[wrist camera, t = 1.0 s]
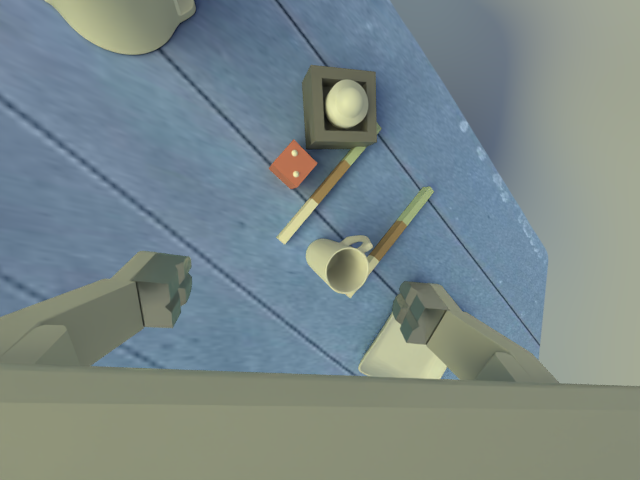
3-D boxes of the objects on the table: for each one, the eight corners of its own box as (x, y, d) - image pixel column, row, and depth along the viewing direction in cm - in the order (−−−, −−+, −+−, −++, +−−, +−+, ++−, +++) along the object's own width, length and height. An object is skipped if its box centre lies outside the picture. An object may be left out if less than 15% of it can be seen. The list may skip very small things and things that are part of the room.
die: (290, 189, 43) (297, 187, 38) (268, 168, 42) (272, 163, 37) (309, 167, 44) (318, 163, 39) (287, 146, 42) (294, 138, 37)
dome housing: (301, 82, 41) (310, 64, 36) (359, 87, 45) (375, 71, 39) (306, 148, 43) (315, 141, 38) (361, 149, 46) (376, 142, 41)
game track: (346, 294, 49) (350, 298, 47) (276, 237, 44) (277, 238, 42) (427, 192, 52) (434, 191, 50) (370, 125, 46) (376, 122, 44)
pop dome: (322, 85, 38) (332, 70, 34) (360, 88, 40) (374, 74, 36) (325, 129, 39) (335, 120, 35) (361, 130, 41) (375, 121, 37)
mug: (318, 279, 47) (343, 303, 36) (296, 253, 45) (315, 269, 34) (357, 245, 49) (393, 258, 37) (338, 218, 47) (369, 223, 35)
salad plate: (462, 318, 60) (474, 324, 57) (415, 394, 59) (426, 405, 56) (403, 275, 53) (413, 280, 50) (349, 360, 52) (356, 371, 49)
